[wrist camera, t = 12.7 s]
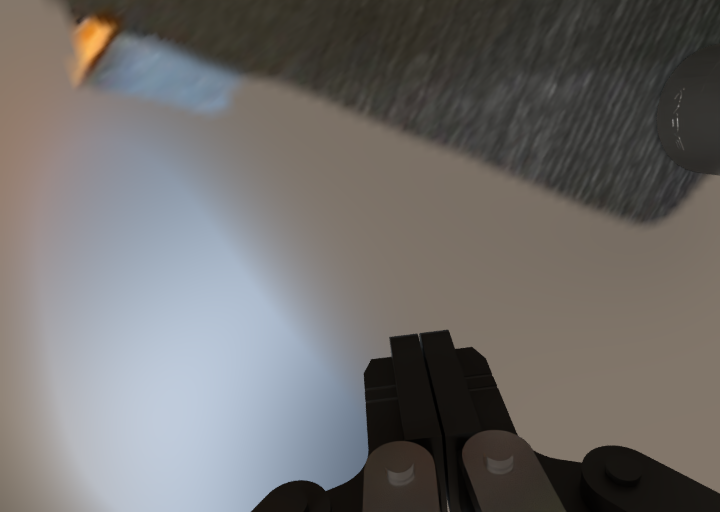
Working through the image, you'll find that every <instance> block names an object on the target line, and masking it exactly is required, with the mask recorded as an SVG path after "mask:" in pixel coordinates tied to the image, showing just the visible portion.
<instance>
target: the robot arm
mask: <svg viewBox="0 0 720 512" xmlns="http://www.w3.org/2000/svg"><path fill="white" fill-rule="evenodd" d="M657 129H658V135H659V138H660V141H661V144H662V147H663V148H664V150H665V152H666V153H667V155H668V156H669V157H670V158H671V159H672V160H673V161H674V162H675V163H676V164H677V165H679V166H681V167H683V168H684V169H686V170H690V171H693V172H697V173H705V174H712V175H720V44H715V45H710V46H708V47H705V48H703V49H700V50H698V51H696V52H695V53H693V54H692V55H690V56H689V57H687V58H686V59H685V60H684V61H683V62H682V63H681V64H680V65H679V66H678V67H677V68H676V69H675V70H674V72H673V73H672V75H671V76H670V77H669V79H668V80H667V83H666V85H665V87H664V89H663V91H662V93H661V97H660V100H659V104H658V109H657ZM419 335H420V336H419V337H420V341H419V337H418V334H410V335H403V336H394V337H389V338H390V347H391V356H392V357H387V358H378V359H371V361H370V363H369V365H368V367H367V368H366V370H365V372H364V384H365V400H366V416H367V432H368V447H369V448H368V449H369V451H368V458H367V461H366V463H365V465H364V467H363V468H362V470H361V471H360V472H359V473H358V474H357V475H356V476H355V477H354V478H352V479H351V480H349V481H348V482H346V483H344V484H342V485H340V486H337V487H335V488H332V489H330V490H328V491H325V490H324V489H323V488H322V487H321V486H319V485H318V484H316V483H313V482H310V481H303V480H299V481H292V482H288V483H285V484H282V485H281V486H279V487H277V488H275V489H274V490H272V491H271V492H270V493H269V494H268V495H267V496H266V497H265V498H264V499H263V500H262V501H261V502H260V503H259V504H258V505H257V506H256V507H255V508H254V509H253V510H252V511H251V512H448V511H447V501H448V506H449V510H450V512H720V494H719V493H717V492H716V491H714V490H712V489H710V488H708V487H706V486H704V485H702V484H700V483H698V482H696V481H694V480H692V479H690V478H689V477H687V476H685V475H683V474H681V473H679V472H677V471H675V470H673V469H671V468H669V467H667V466H665V465H663V464H661V463H659V462H658V461H656V460H654V459H652V458H650V457H648V456H646V455H644V454H642V453H640V452H638V451H636V450H633V449H630V448H627V447H622V446H602V447H598V448H595V449H593V450H591V451H590V452H589V453H588V454H587V455H586V456H585V457H584V459H583V462H582V463H580V462H573V461H567V460H560V459H554V458H550V457H547V456H544V455H542V454H539V453H537V452H535V451H533V449H532V448H531V446H530V445H529V444H528V443H527V442H526V441H525V440H524V439H522V438H521V437H519V436H518V435H517V433H516V430H515V428H514V426H513V423H512V421H511V418H510V416H509V413H508V411H507V409H506V406H505V404H504V401H503V399H502V397H501V394H500V392H499V389H498V388H497V384H496V382H495V380H494V377H493V376H492V373H491V370H490V368H489V365H488V363H487V360H486V358H484V357H483V356H482V355H481V354H480V353H479V352H477V351H476V350H475V349H474V348H473V347H468V348H460V349H455V348H454V345H453V342H452V339H451V336H450V333H449V330H443V331H434V332H426V333H420V334H419ZM446 496H447V497H446Z"/></svg>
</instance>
